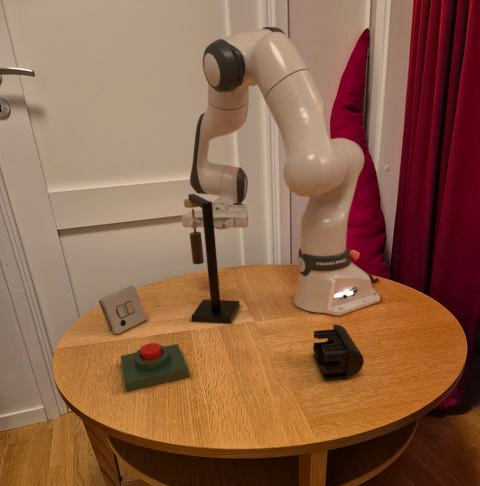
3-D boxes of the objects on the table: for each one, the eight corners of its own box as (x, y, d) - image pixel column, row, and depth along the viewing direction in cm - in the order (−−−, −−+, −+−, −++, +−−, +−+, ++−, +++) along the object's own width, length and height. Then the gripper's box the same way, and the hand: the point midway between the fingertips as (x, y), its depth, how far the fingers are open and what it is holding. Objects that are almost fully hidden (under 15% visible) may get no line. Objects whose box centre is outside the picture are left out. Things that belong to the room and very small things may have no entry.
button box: (178, 352, 88) (176, 336, 86) (188, 377, 80) (186, 360, 78) (122, 364, 85) (118, 348, 83) (126, 391, 77) (122, 374, 75)
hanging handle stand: (245, 295, 114) (239, 191, 101) (230, 323, 99) (222, 206, 86) (197, 293, 117) (186, 192, 104) (176, 320, 102) (160, 207, 89)
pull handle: (205, 260, 111) (200, 207, 104) (202, 264, 108) (196, 210, 102) (194, 260, 111) (189, 207, 105) (191, 264, 109) (185, 210, 102)
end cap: (362, 379, 76) (365, 348, 73) (324, 382, 76) (326, 351, 73) (346, 351, 85) (348, 322, 82) (312, 354, 85) (313, 325, 82)
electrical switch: (116, 336, 96) (106, 299, 93) (104, 332, 99) (93, 296, 96) (147, 320, 103) (139, 286, 99) (134, 317, 106) (126, 283, 102)
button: (160, 348, 83) (159, 341, 82) (163, 358, 80) (162, 350, 79) (140, 352, 82) (139, 345, 81) (142, 363, 79) (141, 355, 78)
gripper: (188, 204, 130) (173, 214, 118) (251, 204, 125) (242, 215, 113) (190, 224, 133) (175, 236, 121) (252, 224, 128) (243, 237, 116)
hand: (208, 225), depth 117 cm, fingers open, 8 cm apart
